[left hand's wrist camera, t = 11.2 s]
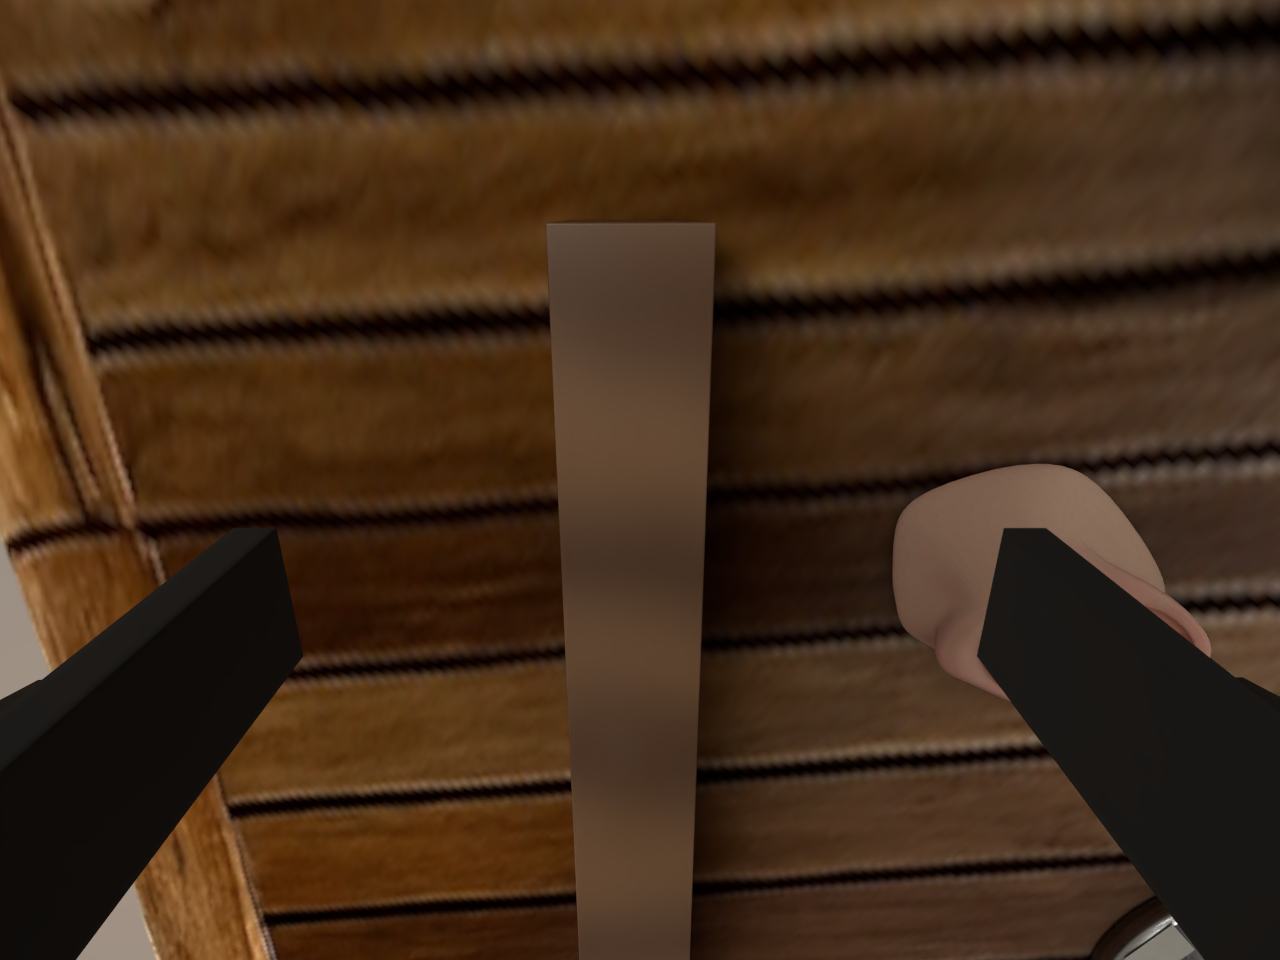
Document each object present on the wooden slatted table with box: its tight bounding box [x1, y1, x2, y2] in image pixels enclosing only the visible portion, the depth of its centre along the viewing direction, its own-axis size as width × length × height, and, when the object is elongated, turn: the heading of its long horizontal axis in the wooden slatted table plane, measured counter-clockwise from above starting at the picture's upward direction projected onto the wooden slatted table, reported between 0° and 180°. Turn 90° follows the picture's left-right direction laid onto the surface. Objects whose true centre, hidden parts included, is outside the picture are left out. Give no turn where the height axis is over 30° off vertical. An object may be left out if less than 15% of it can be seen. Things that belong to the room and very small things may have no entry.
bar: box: [546, 220, 716, 960], centre depth 35 cm, size 61×5×7 cm, turn 0°
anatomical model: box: [892, 464, 1211, 702], centre depth 31 cm, size 13×4×12 cm
